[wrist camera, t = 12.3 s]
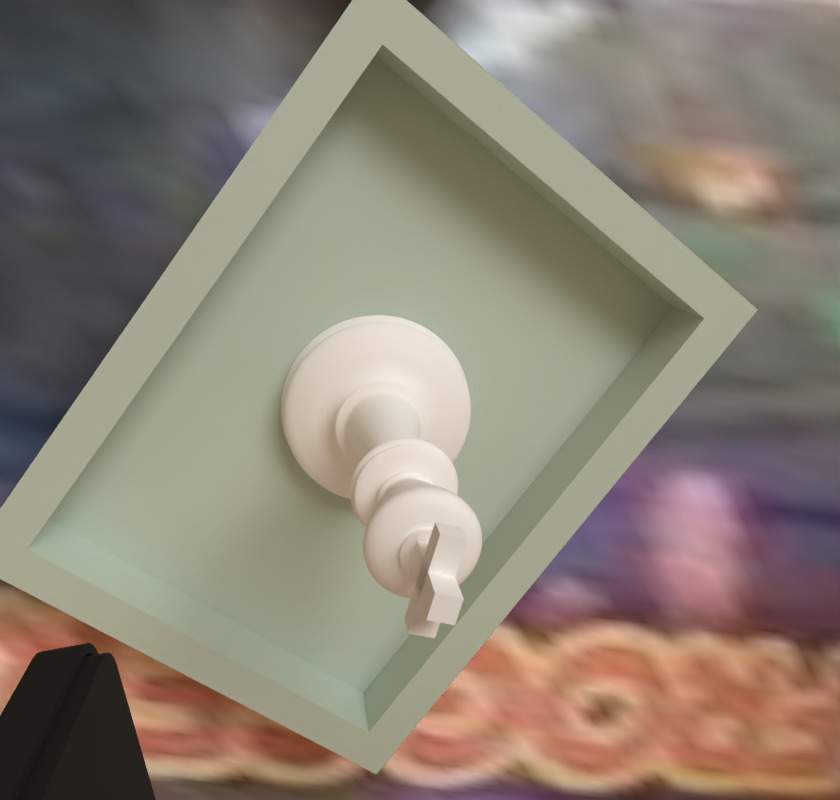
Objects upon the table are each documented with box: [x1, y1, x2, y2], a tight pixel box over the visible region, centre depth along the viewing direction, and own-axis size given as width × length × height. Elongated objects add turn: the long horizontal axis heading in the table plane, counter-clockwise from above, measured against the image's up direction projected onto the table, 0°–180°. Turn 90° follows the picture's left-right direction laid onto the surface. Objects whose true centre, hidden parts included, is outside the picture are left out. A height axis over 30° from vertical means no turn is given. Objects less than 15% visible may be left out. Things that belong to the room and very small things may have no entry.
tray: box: [0, 0, 757, 774], centre depth 20 cm, size 12×16×2 cm
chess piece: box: [281, 315, 482, 638], centre depth 16 cm, size 5×5×10 cm
